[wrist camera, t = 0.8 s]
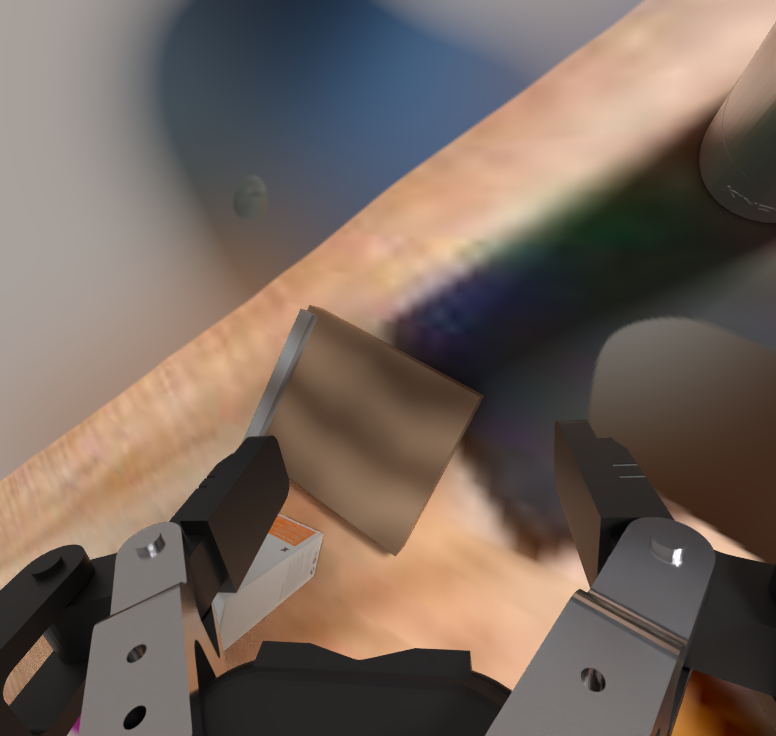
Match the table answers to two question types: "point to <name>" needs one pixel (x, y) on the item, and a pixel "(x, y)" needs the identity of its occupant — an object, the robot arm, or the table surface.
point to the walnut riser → (362, 424)
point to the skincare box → (269, 578)
